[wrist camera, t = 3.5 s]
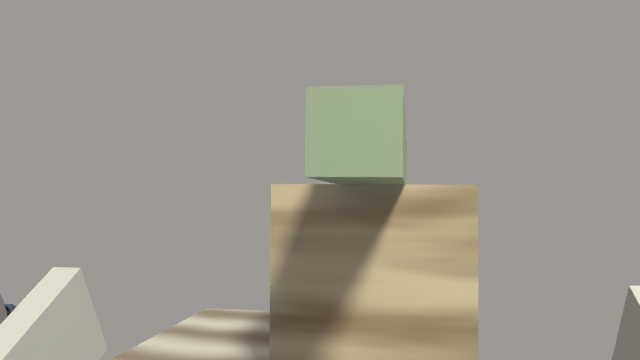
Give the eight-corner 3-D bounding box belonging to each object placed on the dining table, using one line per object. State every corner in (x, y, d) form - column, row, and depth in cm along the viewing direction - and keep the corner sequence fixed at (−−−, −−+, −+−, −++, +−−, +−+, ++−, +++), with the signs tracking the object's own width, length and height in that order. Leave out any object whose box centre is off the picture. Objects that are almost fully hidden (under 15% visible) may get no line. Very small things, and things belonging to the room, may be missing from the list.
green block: (402, 177, 18) (403, 84, 18) (304, 176, 18) (305, 86, 19) (406, 190, 44) (406, 152, 44) (365, 190, 44) (366, 152, 44)
